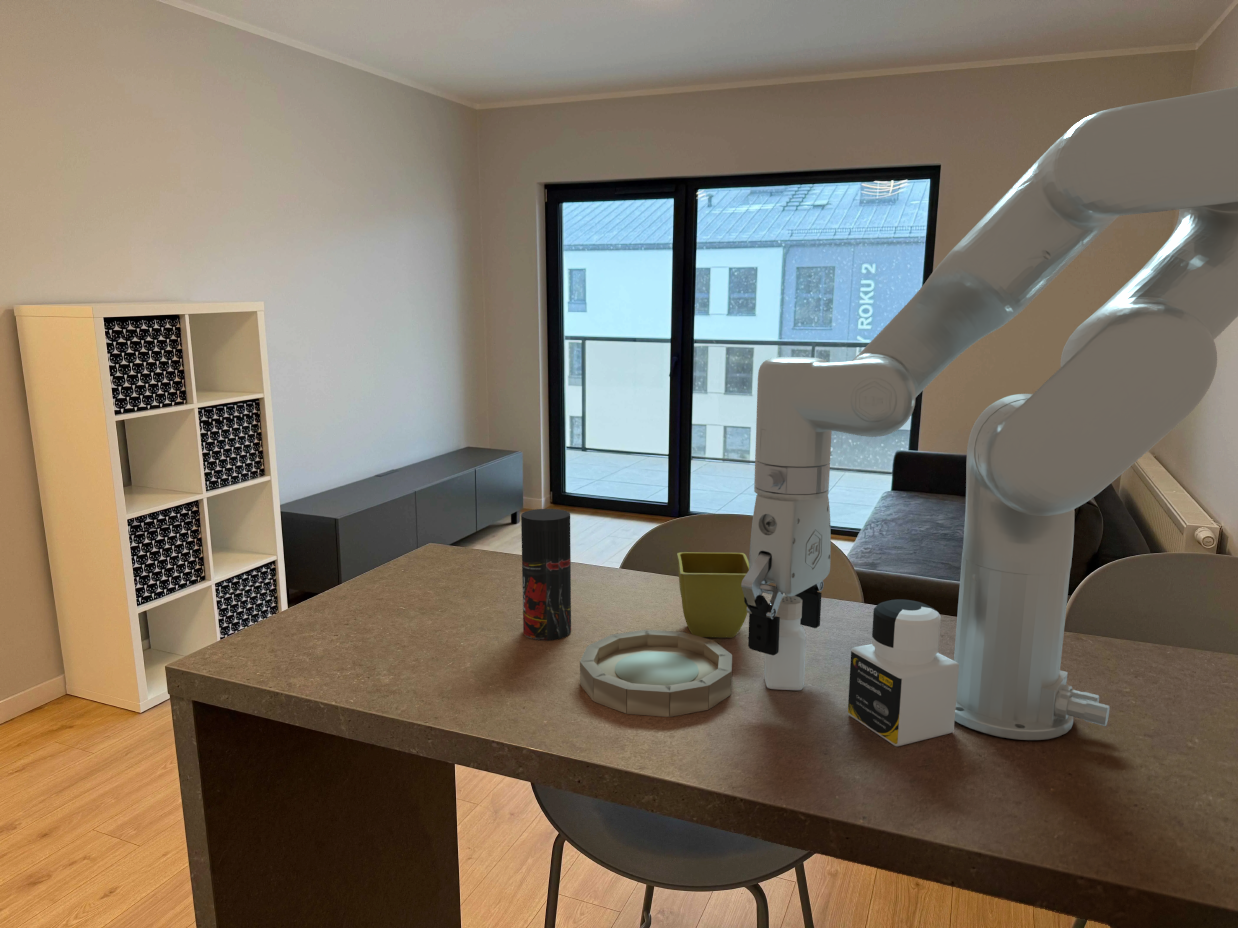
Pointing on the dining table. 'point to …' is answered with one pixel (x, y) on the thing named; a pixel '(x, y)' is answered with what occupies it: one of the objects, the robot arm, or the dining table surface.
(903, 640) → the medicine bottle
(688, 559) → the flower pot
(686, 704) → the tray
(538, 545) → the deodorant
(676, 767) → the dining table surface
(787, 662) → the pepper shaker
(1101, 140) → the robot arm
